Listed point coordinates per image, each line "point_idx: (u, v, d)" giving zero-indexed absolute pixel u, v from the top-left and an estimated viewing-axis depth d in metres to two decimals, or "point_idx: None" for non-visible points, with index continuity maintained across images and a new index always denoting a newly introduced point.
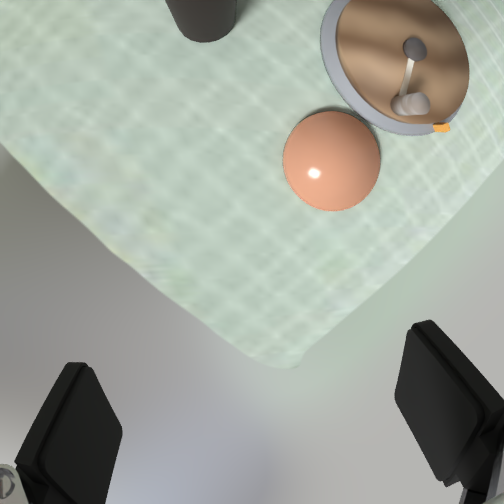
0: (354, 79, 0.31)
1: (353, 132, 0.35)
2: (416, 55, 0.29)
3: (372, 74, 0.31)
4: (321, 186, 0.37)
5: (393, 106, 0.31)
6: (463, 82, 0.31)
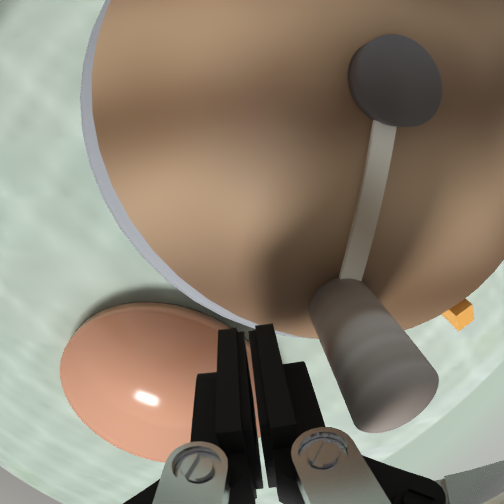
0: None
1: (194, 354, 0.14)
2: (403, 109, 0.08)
3: (229, 235, 0.10)
4: (148, 437, 0.17)
5: (315, 331, 0.11)
6: None
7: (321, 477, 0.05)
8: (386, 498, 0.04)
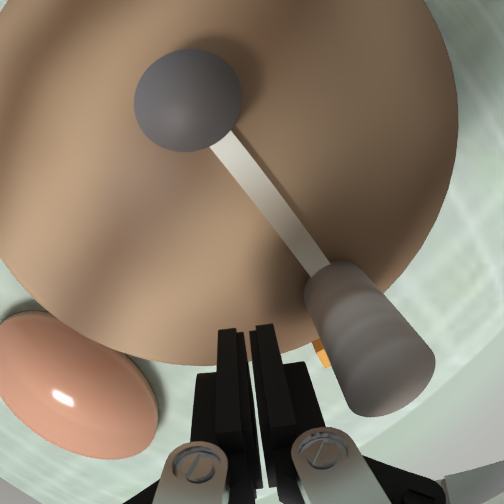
0: None
1: (76, 359, 0.15)
2: (211, 122, 0.08)
3: (204, 319, 0.11)
4: (60, 430, 0.17)
5: None
6: None
7: (321, 477, 0.05)
8: (386, 498, 0.04)
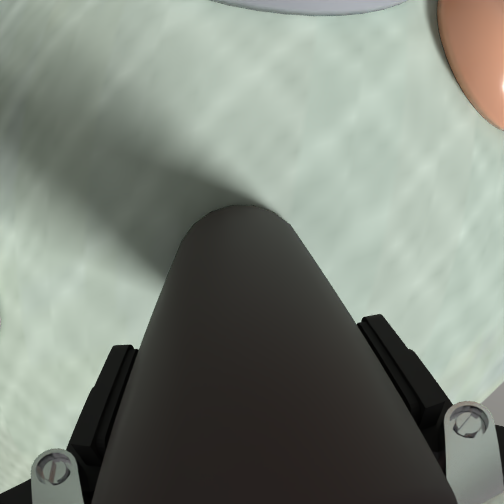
0: None
1: (469, 1, 0.11)
2: None
3: None
4: None
5: None
6: None
7: (461, 443, 0.04)
8: None
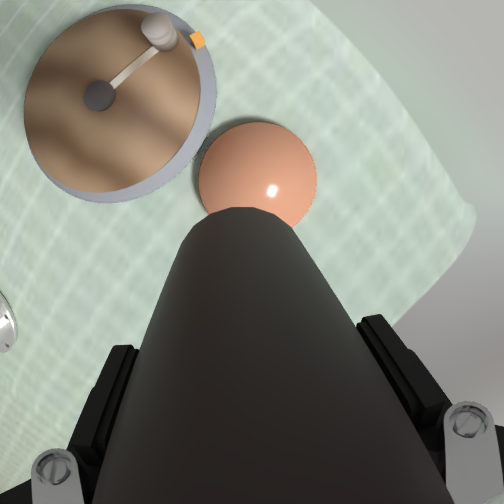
0: (199, 90, 0.27)
1: (221, 159, 0.31)
2: (104, 87, 0.25)
3: (175, 85, 0.26)
4: (288, 195, 0.33)
5: (176, 41, 0.24)
6: (59, 44, 0.23)
7: (460, 443, 0.04)
8: None
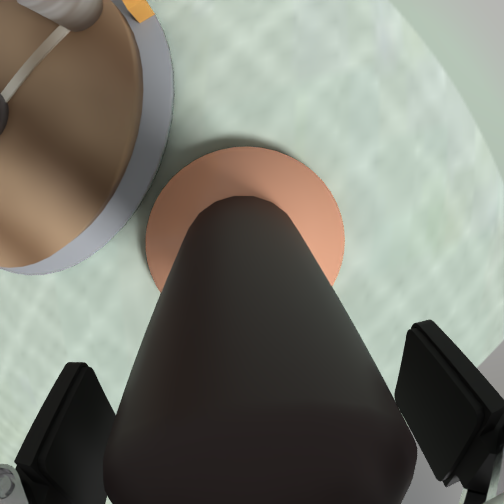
0: (134, 93, 0.14)
1: (180, 214, 0.18)
2: None
3: (93, 88, 0.13)
4: None
5: (95, 10, 0.11)
6: None
7: None
8: None
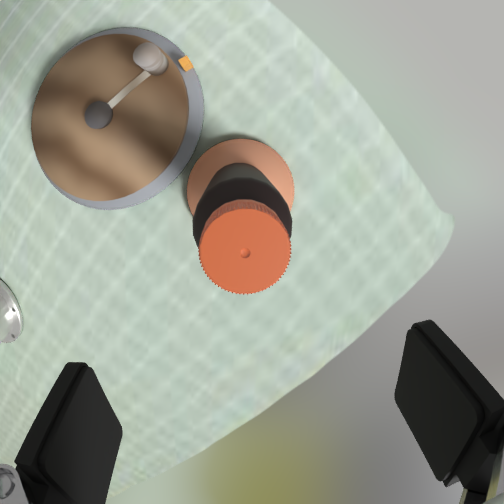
0: (186, 111, 0.31)
1: (207, 172, 0.35)
2: (102, 107, 0.29)
3: (165, 106, 0.30)
4: None
5: (166, 66, 0.28)
6: (61, 65, 0.27)
7: None
8: None
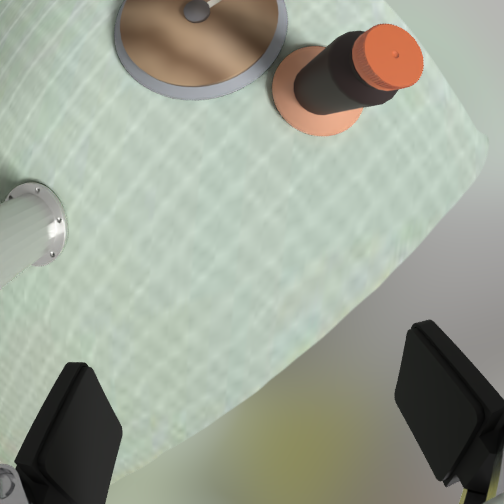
0: None
1: (291, 70, 0.35)
2: (202, 4, 0.29)
3: (259, 10, 0.30)
4: None
5: None
6: None
7: None
8: None
